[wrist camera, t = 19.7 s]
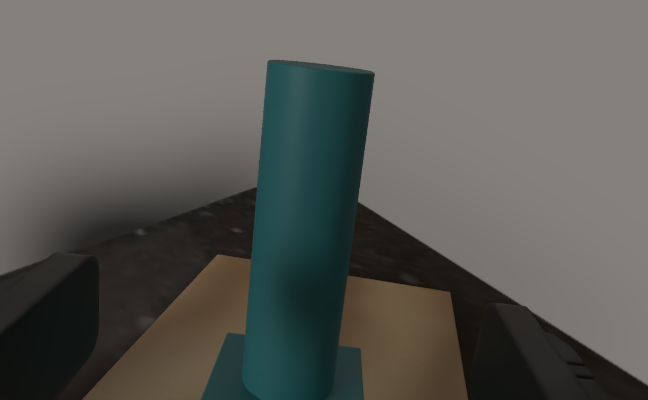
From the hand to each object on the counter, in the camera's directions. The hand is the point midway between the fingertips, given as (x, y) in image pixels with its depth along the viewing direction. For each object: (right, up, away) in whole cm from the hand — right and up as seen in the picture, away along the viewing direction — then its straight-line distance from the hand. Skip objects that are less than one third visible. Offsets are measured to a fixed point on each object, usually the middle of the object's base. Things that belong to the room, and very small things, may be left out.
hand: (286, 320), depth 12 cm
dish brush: (-1, -6, +7) cm, 9 cm away
